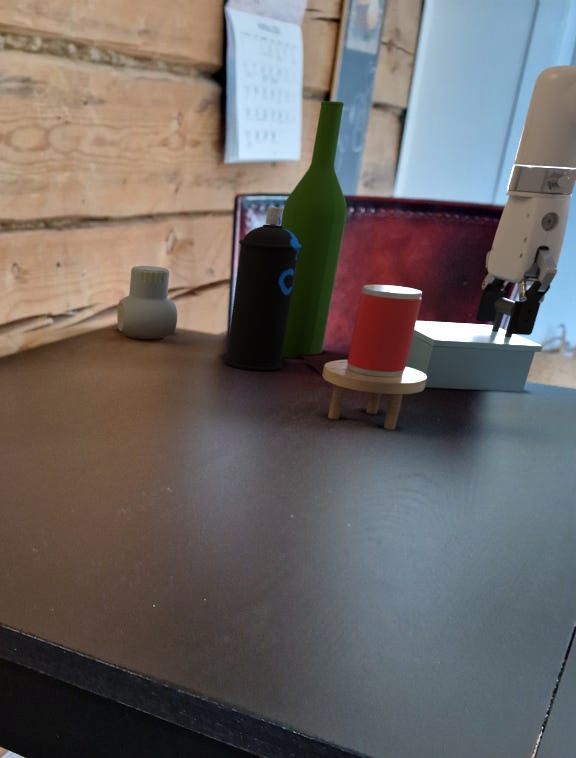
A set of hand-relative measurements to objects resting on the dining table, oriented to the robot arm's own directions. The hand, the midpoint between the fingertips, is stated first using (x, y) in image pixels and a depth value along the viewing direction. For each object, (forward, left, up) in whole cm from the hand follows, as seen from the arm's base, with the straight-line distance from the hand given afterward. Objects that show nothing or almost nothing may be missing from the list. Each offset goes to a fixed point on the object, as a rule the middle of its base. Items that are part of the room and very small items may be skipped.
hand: (501, 327), depth 116 cm
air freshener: (+46, -22, -8) cm, 52 cm away
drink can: (+25, +24, -2) cm, 35 cm away
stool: (+25, +24, -8) cm, 36 cm away
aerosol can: (+32, -5, -8) cm, 33 cm away
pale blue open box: (+5, 0, -8) cm, 9 cm away
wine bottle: (+24, -15, -8) cm, 29 cm away
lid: (+5, 0, -2) cm, 5 cm away
